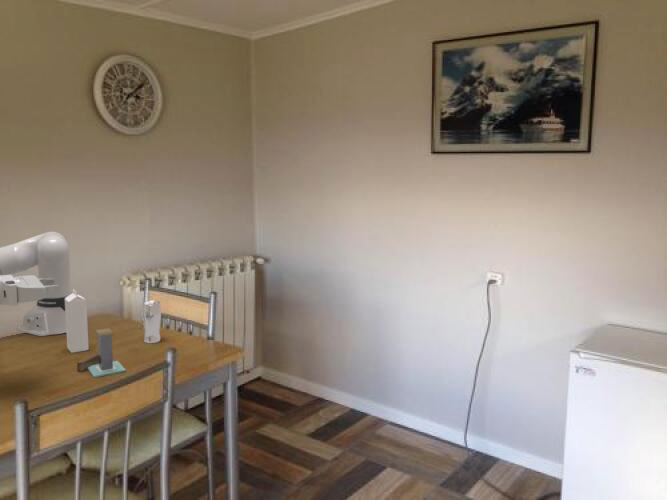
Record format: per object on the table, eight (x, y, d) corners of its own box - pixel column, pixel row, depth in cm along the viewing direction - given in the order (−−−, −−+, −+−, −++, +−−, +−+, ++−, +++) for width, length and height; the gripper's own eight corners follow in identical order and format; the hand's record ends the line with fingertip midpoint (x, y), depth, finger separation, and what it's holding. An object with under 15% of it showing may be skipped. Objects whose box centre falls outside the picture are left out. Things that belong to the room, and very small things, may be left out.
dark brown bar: (77, 371, 191) (77, 362, 190) (100, 358, 202) (100, 350, 202) (82, 371, 190) (82, 363, 190) (105, 359, 202) (105, 351, 201)
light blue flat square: (94, 377, 186) (94, 375, 186) (86, 367, 194) (86, 365, 194) (125, 371, 192) (125, 369, 191) (117, 362, 200) (117, 360, 199)
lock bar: (101, 370, 190) (99, 333, 188) (98, 367, 193) (96, 330, 191) (113, 368, 192) (112, 331, 190) (110, 364, 195) (108, 328, 193)
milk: (71, 353, 207) (67, 293, 204) (67, 348, 212) (63, 289, 208) (89, 350, 211) (85, 291, 207) (84, 345, 216) (81, 287, 212)
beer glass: (158, 343, 219) (157, 305, 217) (140, 343, 219) (139, 304, 217) (164, 338, 226) (163, 300, 224) (146, 337, 226) (145, 300, 224)
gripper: (3, 292, 183) (51, 287, 191) (11, 307, 167) (63, 301, 175) (1, 273, 182) (50, 268, 190) (10, 286, 166) (62, 280, 174)
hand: (56, 284), depth 182 cm, fingers open, 8 cm apart
